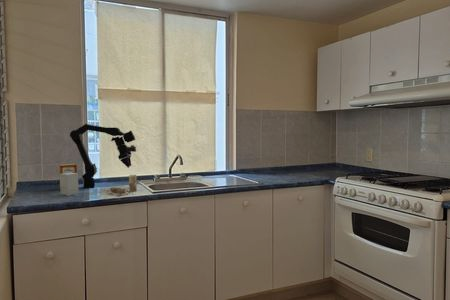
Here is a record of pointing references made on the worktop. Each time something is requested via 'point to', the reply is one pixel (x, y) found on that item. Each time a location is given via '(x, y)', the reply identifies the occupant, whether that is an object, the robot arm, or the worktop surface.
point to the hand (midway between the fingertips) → (129, 166)
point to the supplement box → (69, 183)
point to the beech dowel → (132, 183)
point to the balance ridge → (117, 191)
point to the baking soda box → (68, 168)
